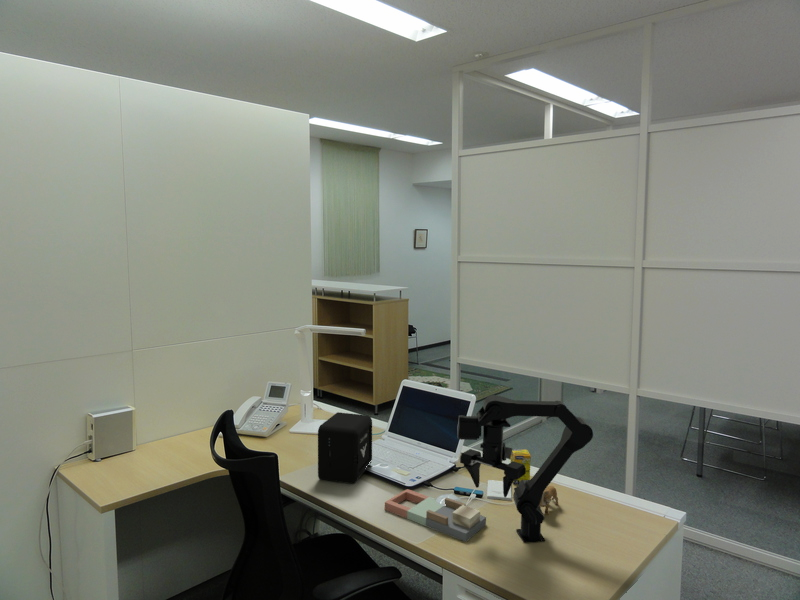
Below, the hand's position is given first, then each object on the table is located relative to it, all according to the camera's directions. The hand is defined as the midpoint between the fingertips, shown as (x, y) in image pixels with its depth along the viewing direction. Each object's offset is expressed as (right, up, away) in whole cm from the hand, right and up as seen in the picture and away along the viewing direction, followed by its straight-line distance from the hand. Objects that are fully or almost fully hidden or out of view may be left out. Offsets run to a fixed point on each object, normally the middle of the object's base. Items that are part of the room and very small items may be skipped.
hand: (491, 491), depth 154 cm
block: (-7, -10, +4) cm, 13 cm away
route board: (-16, -12, +11) cm, 23 cm away
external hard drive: (+8, -11, +29) cm, 32 cm away
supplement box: (+17, -10, +38) cm, 42 cm away
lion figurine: (+21, -12, +16) cm, 29 cm away
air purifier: (-46, -9, +43) cm, 64 cm away
